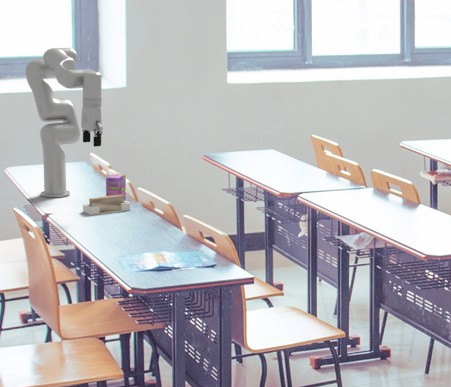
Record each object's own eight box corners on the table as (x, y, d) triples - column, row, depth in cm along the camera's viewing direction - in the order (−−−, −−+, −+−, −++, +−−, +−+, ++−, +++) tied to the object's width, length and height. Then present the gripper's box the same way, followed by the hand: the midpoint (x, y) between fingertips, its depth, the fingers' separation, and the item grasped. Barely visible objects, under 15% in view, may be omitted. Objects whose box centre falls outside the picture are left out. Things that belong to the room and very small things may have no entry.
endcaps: (83, 211, 413) (82, 204, 413) (122, 207, 423) (122, 199, 423) (91, 215, 407) (91, 208, 406) (131, 210, 416) (131, 203, 416)
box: (119, 205, 426) (118, 177, 424) (106, 204, 428) (105, 177, 425) (126, 200, 436) (125, 173, 434) (113, 200, 438) (113, 173, 435)
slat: (89, 212, 413) (89, 198, 412) (120, 208, 420) (120, 194, 419) (92, 214, 411) (92, 199, 409) (123, 210, 418) (123, 195, 417)
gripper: (74, 100, 417) (74, 141, 421) (93, 106, 404) (93, 148, 407) (90, 99, 422) (90, 139, 425) (110, 105, 408) (109, 147, 412)
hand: (91, 144), depth 416 cm, fingers open, 9 cm apart
